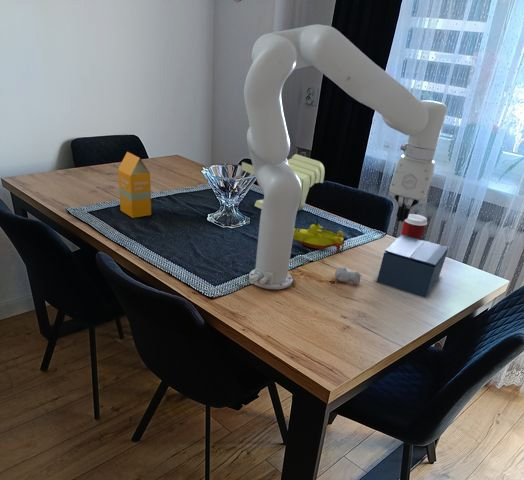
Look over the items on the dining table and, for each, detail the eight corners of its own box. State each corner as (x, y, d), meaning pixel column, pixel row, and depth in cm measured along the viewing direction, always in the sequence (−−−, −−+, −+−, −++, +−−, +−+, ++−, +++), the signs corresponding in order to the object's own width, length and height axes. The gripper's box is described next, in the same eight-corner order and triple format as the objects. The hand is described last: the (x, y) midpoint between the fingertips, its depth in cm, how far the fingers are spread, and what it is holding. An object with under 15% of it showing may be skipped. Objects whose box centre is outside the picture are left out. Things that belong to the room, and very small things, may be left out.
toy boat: (341, 255, 163) (347, 226, 158) (288, 246, 166) (292, 217, 160) (343, 248, 169) (349, 220, 163) (291, 239, 171) (295, 211, 165)
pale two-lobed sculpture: (330, 282, 149) (341, 273, 151) (352, 291, 144) (363, 282, 147) (330, 270, 146) (340, 261, 148) (352, 280, 141) (363, 270, 144)
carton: (425, 297, 144) (435, 265, 138) (376, 282, 149) (384, 250, 144) (438, 277, 157) (448, 247, 151) (393, 264, 162) (401, 234, 156)
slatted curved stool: (268, 222, 183) (273, 173, 173) (238, 209, 191) (242, 161, 181) (318, 208, 202) (326, 163, 192) (289, 197, 210) (295, 153, 200)
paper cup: (420, 258, 168) (432, 218, 160) (409, 264, 163) (421, 223, 155) (400, 250, 172) (411, 211, 164) (389, 256, 167) (399, 215, 160)
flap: (409, 259, 141) (409, 257, 141) (384, 251, 144) (385, 250, 144) (423, 242, 154) (424, 240, 154) (401, 235, 156) (401, 234, 156)
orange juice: (132, 218, 173) (129, 158, 162) (120, 210, 178) (116, 152, 167) (151, 214, 177) (150, 156, 166) (139, 207, 183) (137, 150, 171)
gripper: (388, 149, 131) (372, 216, 141) (444, 161, 125) (423, 230, 136) (396, 145, 136) (380, 210, 147) (450, 157, 131) (429, 223, 141)
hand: (401, 220), depth 141 cm, fingers closed
